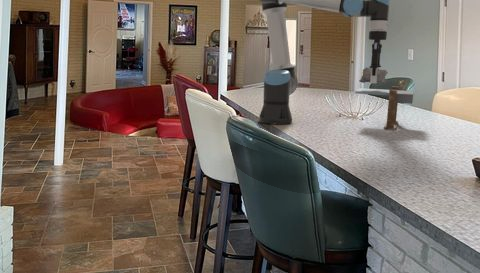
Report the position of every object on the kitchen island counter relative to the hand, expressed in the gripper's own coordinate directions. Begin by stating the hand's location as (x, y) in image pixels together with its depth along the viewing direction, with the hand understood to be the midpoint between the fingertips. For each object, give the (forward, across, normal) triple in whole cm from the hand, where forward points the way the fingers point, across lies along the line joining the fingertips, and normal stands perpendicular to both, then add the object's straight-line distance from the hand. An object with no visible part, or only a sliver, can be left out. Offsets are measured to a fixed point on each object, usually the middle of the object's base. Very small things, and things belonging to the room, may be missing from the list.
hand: (374, 82), depth 210 cm
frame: (+19, 0, -9) cm, 21 cm away
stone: (0, 0, 0) cm, 1 cm away
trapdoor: (+8, 0, -5) cm, 9 cm away
